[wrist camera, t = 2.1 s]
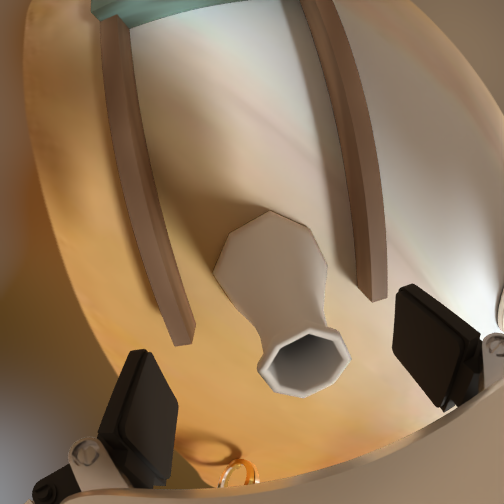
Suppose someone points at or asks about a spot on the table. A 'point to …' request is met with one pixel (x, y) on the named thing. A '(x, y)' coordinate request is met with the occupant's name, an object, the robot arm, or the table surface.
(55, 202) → the table surface
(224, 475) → the ring
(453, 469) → the robot arm
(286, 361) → the flask
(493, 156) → the table surface
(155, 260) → the guide channel
